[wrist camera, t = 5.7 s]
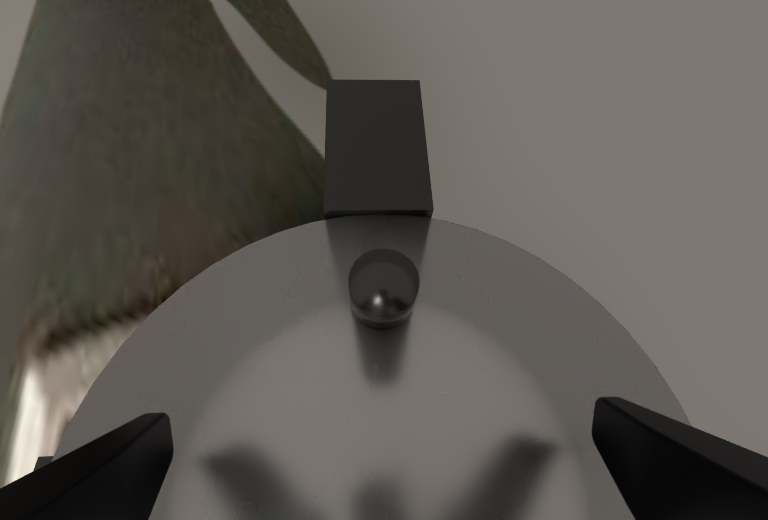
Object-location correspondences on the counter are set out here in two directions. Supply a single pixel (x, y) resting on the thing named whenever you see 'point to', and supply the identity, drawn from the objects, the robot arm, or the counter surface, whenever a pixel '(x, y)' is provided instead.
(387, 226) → the cooker lid
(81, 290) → the counter surface
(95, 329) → the counter surface
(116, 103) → the counter surface
